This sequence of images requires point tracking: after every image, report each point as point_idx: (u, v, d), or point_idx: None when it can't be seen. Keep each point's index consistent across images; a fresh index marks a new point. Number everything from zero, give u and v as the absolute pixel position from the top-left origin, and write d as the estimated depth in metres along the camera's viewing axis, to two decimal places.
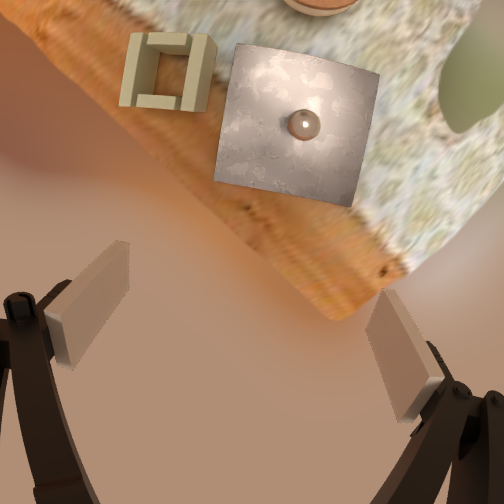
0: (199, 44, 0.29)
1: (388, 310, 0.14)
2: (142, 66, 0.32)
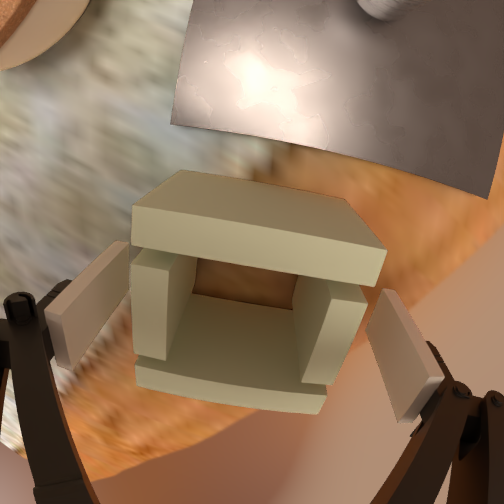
0: (166, 229, 0.11)
1: (388, 310, 0.14)
2: (224, 357, 0.15)
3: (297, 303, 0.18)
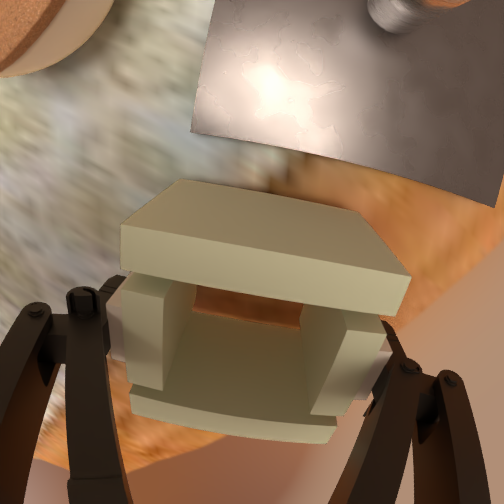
0: (159, 252, 0.09)
1: None
2: (226, 384, 0.14)
3: (306, 324, 0.16)
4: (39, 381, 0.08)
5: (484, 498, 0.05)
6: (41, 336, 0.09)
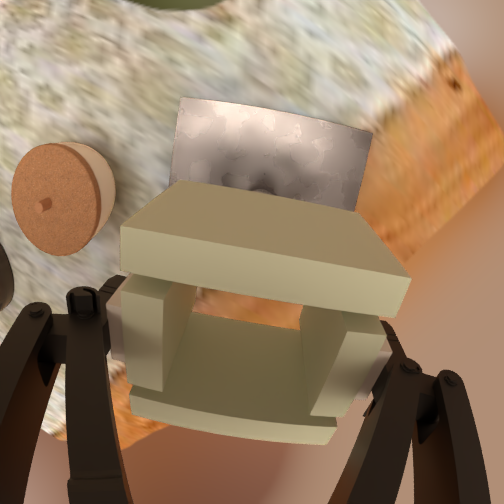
0: (159, 253, 0.09)
1: None
2: (226, 386, 0.14)
3: (305, 325, 0.16)
4: (39, 381, 0.08)
5: (484, 498, 0.05)
6: (41, 336, 0.09)
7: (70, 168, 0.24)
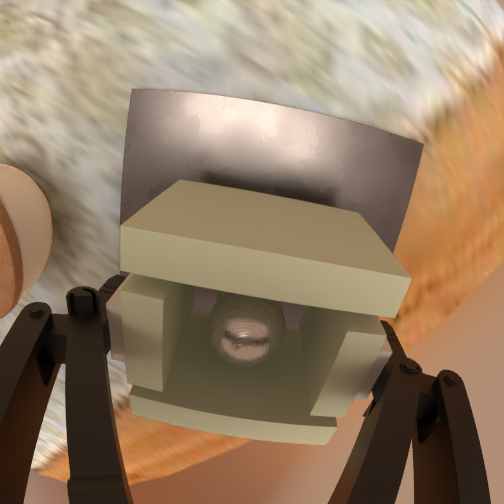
0: (159, 253, 0.09)
1: None
2: (226, 386, 0.14)
3: (305, 325, 0.16)
4: (39, 381, 0.08)
5: (484, 498, 0.05)
6: (41, 336, 0.09)
7: None
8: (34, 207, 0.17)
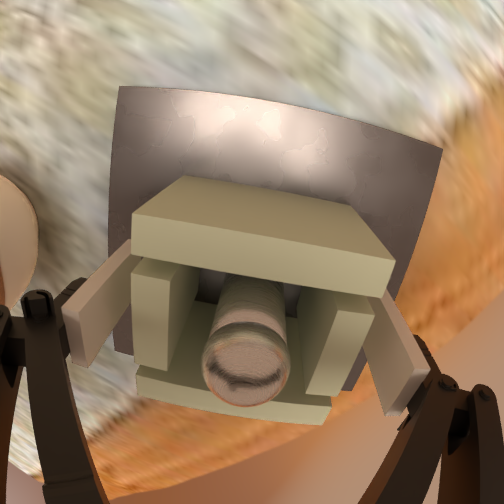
0: (167, 238, 0.11)
1: (376, 304, 0.15)
2: None
3: (302, 312, 0.17)
4: (5, 382, 0.07)
5: None
6: (2, 337, 0.08)
7: None
8: (16, 217, 0.15)
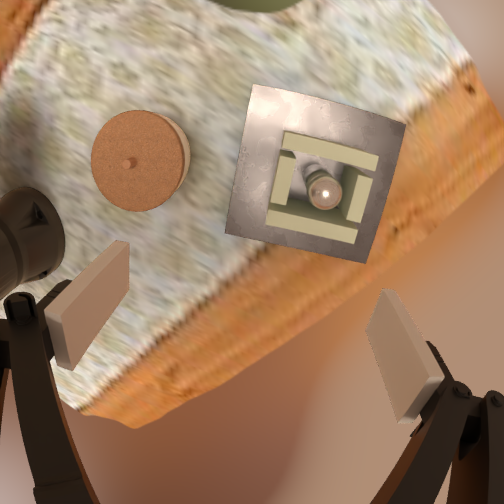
0: (297, 142, 0.28)
1: (388, 310, 0.14)
2: (308, 213, 0.32)
3: None
4: None
5: None
6: None
7: (160, 131, 0.29)
8: (187, 142, 0.33)
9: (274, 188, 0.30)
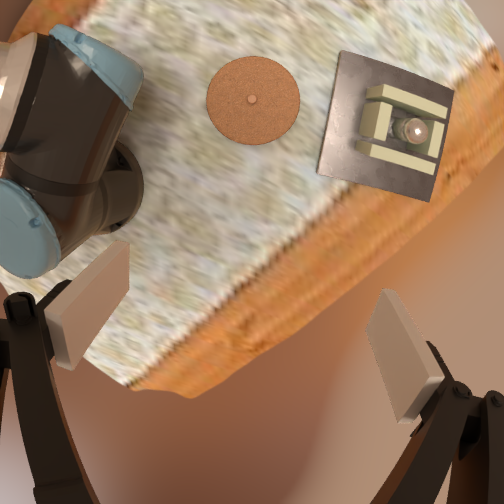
0: (393, 92, 0.32)
1: (388, 310, 0.14)
2: None
3: None
4: None
5: None
6: None
7: (280, 75, 0.33)
8: None
9: (377, 126, 0.34)
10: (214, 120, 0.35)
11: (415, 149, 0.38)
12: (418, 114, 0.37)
